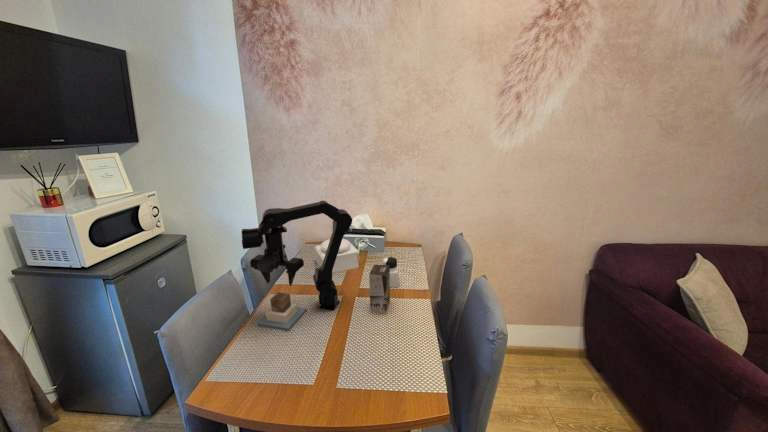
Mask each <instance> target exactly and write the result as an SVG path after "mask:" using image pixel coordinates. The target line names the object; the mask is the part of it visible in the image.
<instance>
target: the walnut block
mask: <svg viewBox="0 0 768 432" xmlns="http://www.w3.org/2000/svg"><path fill="white" fill-rule="evenodd" d="M291 300H292V299H291V294H290V293H285V292H276V293H275V294H274V295H273V296H272V297H270V299H269V301H270V306H271V308H270V309H272V311H274V312H280V313H285V311H286V310H287V309H288V308H289V307H290V306H291V304H292V302H291Z"/></svg>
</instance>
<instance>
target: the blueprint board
mask: <svg viewBox="0 0 768 432" xmlns="http://www.w3.org/2000/svg"><path fill="white" fill-rule="evenodd" d="M307 311H308V309H307V307H300V306H298V305H297V304H296V303H291V306H290V307H289V308H288V309H287V310H286V311H285V313H280V312H274V311H272V309H271V308H270V309H269V310H268V311H266V312H265V315H264V316H263V317H261V319H259V320H258V321H257V322H256V326H257V327H258V326H259V327H262V328H269V329H275V330H280V329H281V331H285V332H286V331H287V332H290V330H291V329H292V328H293V327H294V326H295V325H296V324H297V323H298V321H299V320H301V318H302V317H303V316H304V314H306V312H307Z"/></svg>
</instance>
